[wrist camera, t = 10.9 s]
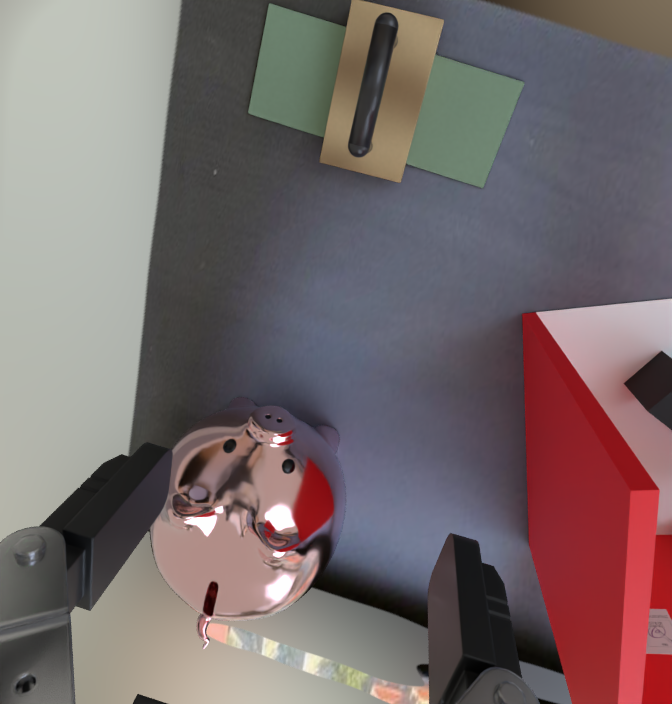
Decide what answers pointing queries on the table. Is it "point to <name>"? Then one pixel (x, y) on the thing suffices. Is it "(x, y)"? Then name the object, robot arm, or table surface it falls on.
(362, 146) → the birch board
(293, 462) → the piggy bank
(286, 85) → the mat
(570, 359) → the miniature room diorama
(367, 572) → the table surface
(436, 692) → the robot arm
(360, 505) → the table surface
